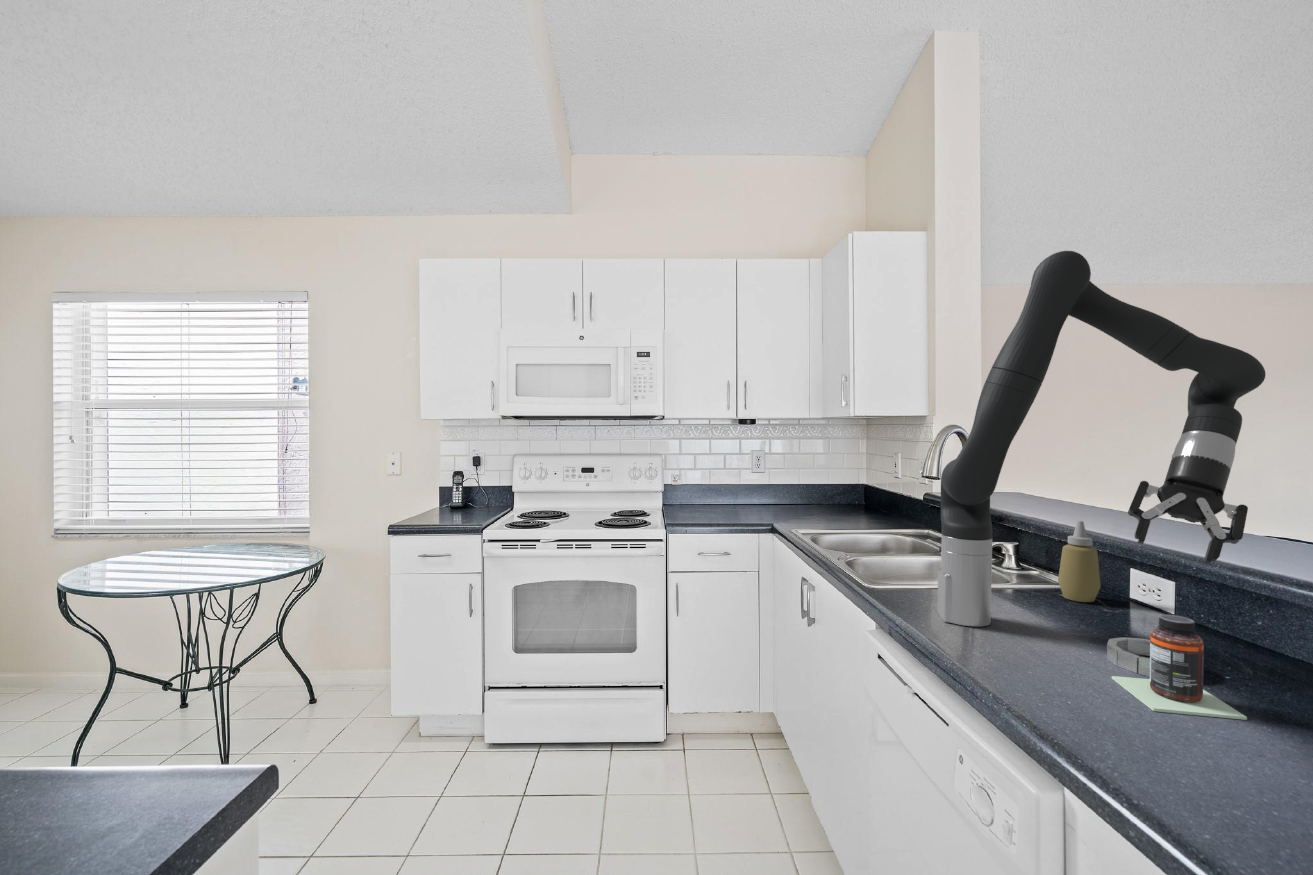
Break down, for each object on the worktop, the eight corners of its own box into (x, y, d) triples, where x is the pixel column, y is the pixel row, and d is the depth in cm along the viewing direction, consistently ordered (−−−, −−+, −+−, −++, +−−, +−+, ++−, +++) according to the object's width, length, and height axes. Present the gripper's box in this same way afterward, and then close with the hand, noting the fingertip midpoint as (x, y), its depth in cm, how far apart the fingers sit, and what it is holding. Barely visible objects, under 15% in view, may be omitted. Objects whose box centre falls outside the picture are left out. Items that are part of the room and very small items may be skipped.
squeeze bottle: (1092, 596, 140) (1094, 519, 139) (1106, 606, 132) (1108, 525, 132) (1052, 592, 142) (1054, 517, 142) (1063, 602, 135) (1065, 523, 134)
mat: (1153, 711, 83) (1153, 708, 83) (1111, 678, 94) (1111, 675, 94) (1246, 719, 81) (1246, 717, 81) (1193, 685, 92) (1193, 682, 92)
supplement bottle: (1182, 687, 90) (1184, 612, 90) (1214, 705, 84) (1216, 626, 84) (1139, 684, 91) (1141, 610, 91) (1168, 702, 85) (1170, 623, 85)
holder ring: (1131, 676, 95) (1132, 661, 95) (1093, 648, 107) (1094, 635, 107) (1220, 684, 92) (1220, 668, 92) (1171, 654, 104) (1172, 640, 104)
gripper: (1151, 443, 102) (1122, 530, 99) (1265, 467, 93) (1238, 563, 90) (1144, 460, 107) (1117, 542, 104) (1251, 484, 99) (1225, 574, 96)
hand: (1173, 551), depth 97 cm, fingers open, 8 cm apart
